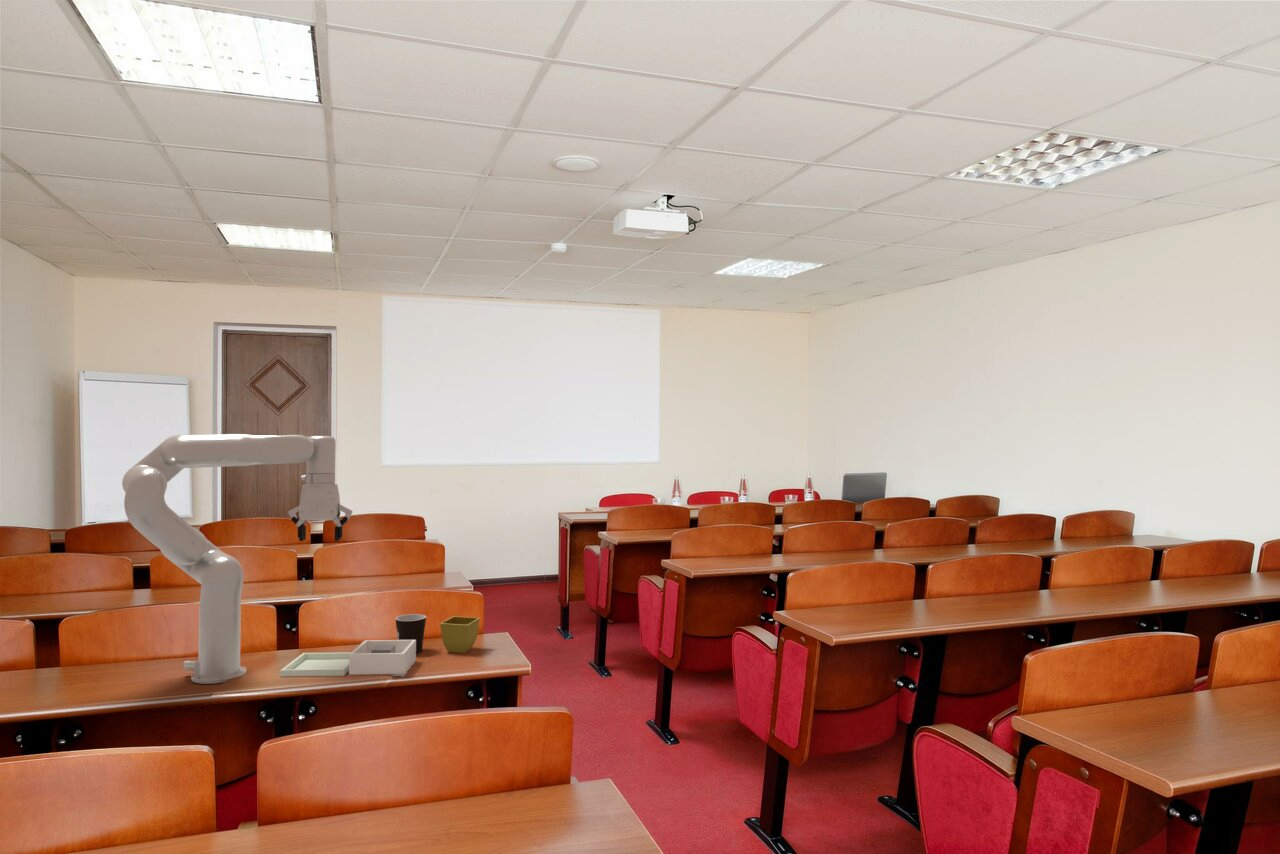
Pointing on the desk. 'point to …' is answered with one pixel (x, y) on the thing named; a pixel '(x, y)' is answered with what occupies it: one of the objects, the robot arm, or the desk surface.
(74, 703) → the desk surface
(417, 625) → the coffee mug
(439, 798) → the desk surface
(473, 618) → the flower pot
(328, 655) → the tray
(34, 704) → the desk surface
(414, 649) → the bin
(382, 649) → the stone cube
